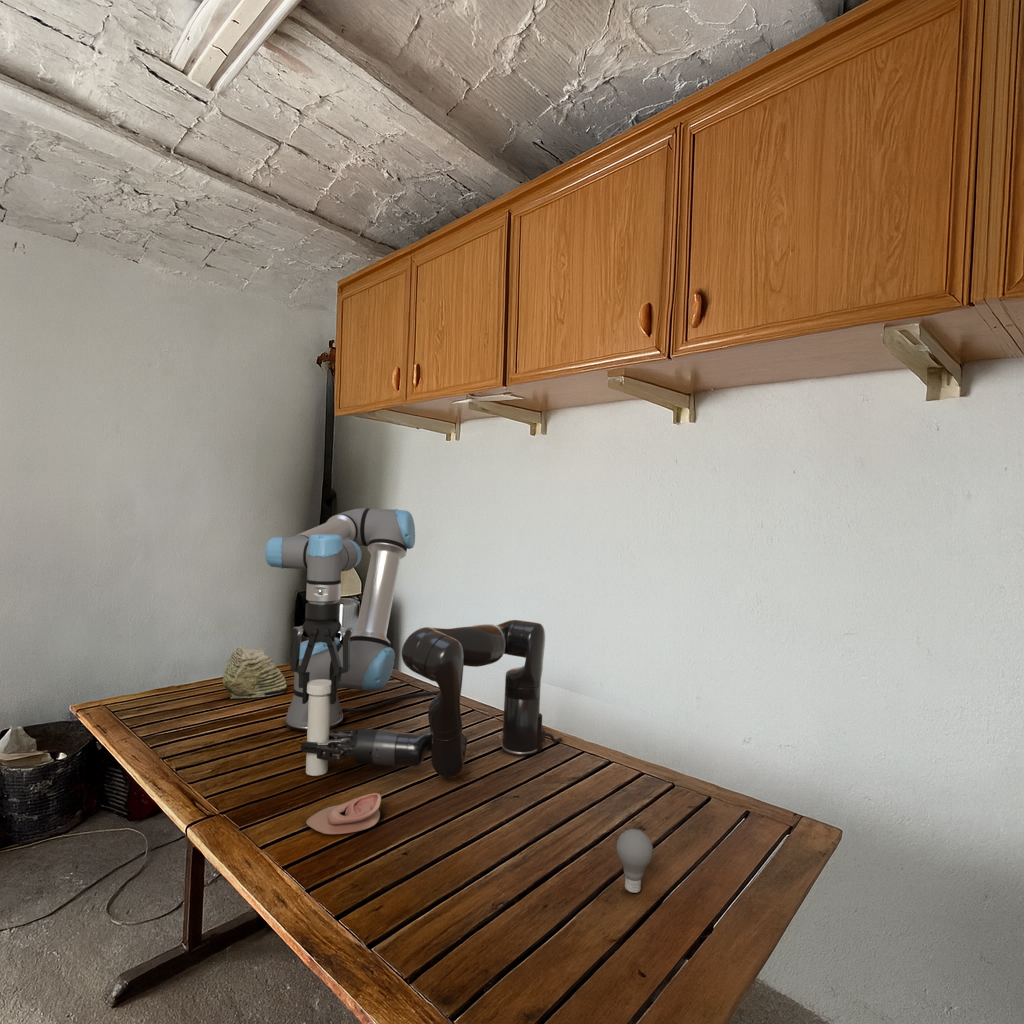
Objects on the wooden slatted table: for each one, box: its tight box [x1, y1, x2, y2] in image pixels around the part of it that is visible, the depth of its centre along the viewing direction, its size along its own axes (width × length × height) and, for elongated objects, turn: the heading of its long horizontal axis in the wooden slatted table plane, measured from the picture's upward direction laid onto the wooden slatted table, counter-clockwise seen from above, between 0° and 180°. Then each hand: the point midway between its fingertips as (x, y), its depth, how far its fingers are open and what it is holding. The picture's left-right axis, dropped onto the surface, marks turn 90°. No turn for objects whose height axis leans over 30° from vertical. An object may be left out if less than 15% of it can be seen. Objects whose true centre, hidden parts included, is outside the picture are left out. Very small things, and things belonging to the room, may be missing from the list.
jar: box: [305, 693, 331, 777], centre depth 146 cm, size 5×5×20 cm
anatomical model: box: [305, 792, 382, 835], centre depth 124 cm, size 13×4×12 cm
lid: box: [307, 679, 331, 695], centre depth 146 cm, size 6×6×2 cm
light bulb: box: [615, 828, 654, 894], centre depth 106 cm, size 6×6×10 cm
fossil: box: [222, 646, 288, 699], centre depth 198 cm, size 9×18×15 cm, turn 132°
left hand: (319, 701), depth 146 cm, fingers closed on lid, 6 cm apart
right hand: (306, 742), depth 146 cm, fingers closed on jar, 5 cm apart
